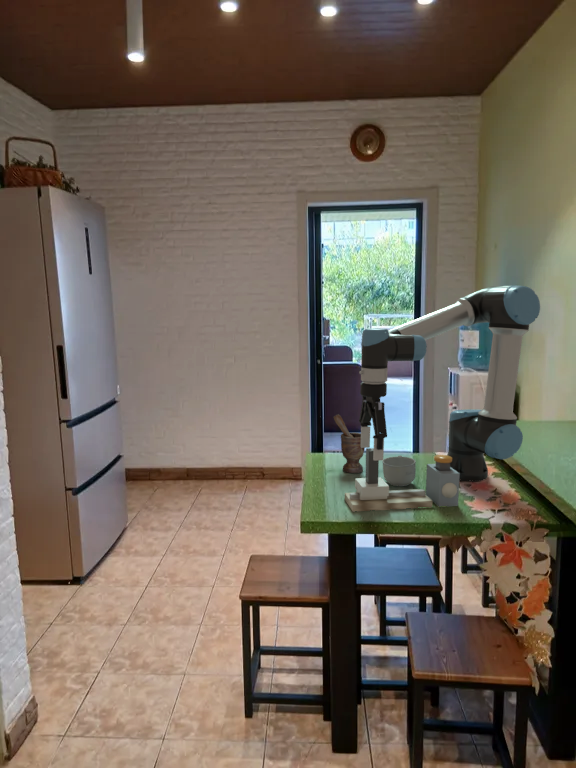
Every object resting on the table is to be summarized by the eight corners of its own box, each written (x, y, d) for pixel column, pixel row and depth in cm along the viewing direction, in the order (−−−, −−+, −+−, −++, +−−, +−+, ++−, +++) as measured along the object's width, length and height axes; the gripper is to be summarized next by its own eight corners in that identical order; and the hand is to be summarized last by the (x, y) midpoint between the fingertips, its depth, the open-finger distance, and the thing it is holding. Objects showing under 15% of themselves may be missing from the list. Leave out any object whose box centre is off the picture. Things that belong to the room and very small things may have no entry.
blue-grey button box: (444, 493, 167) (445, 463, 165) (458, 506, 156) (460, 473, 155) (425, 494, 166) (426, 464, 164) (439, 507, 156) (440, 474, 154)
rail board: (419, 495, 166) (419, 484, 165) (432, 507, 156) (432, 495, 155) (344, 499, 163) (344, 488, 162) (352, 511, 153) (352, 500, 152)
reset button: (446, 476, 163) (447, 454, 162) (454, 482, 158) (455, 459, 157) (430, 477, 163) (431, 455, 162) (437, 482, 158) (438, 460, 157)
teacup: (411, 490, 170) (412, 466, 168) (378, 486, 174) (378, 462, 173) (419, 478, 182) (420, 455, 181) (388, 473, 187) (389, 451, 185)
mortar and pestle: (330, 472, 188) (331, 417, 185) (333, 465, 196) (334, 412, 193) (363, 474, 186) (364, 419, 183) (364, 467, 194) (365, 413, 191)
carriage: (380, 491, 163) (381, 445, 161) (388, 500, 155) (389, 452, 153) (355, 492, 162) (355, 446, 160) (362, 501, 154) (362, 453, 152)
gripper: (350, 376, 165) (348, 443, 168) (373, 389, 140) (371, 466, 143) (373, 376, 166) (371, 442, 169) (400, 388, 141) (397, 465, 144)
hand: (371, 453), depth 156 cm, fingers open, 13 cm apart
